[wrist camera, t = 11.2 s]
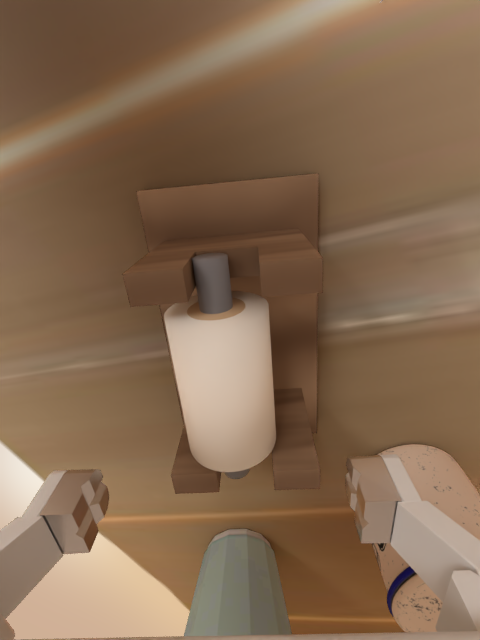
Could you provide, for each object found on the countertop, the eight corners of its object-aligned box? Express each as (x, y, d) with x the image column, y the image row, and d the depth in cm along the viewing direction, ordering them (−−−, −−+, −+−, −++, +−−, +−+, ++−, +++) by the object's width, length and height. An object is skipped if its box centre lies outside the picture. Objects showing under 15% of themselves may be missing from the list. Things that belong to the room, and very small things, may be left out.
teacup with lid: (339, 454, 27) (397, 636, 16) (456, 427, 26) (601, 608, 15) (368, 543, 32) (427, 731, 21) (468, 524, 30) (587, 717, 19)
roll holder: (141, 190, 19) (74, 201, 12) (315, 173, 19) (356, 174, 11) (188, 429, 26) (165, 527, 19) (314, 423, 26) (339, 522, 19)
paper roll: (271, 242, 17) (177, 247, 18) (256, 271, 12) (132, 274, 13) (281, 440, 22) (208, 435, 23) (273, 511, 17) (184, 500, 18)
